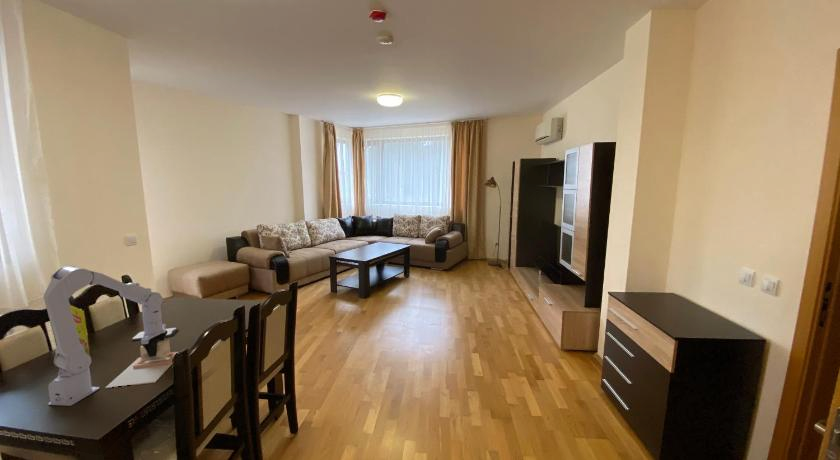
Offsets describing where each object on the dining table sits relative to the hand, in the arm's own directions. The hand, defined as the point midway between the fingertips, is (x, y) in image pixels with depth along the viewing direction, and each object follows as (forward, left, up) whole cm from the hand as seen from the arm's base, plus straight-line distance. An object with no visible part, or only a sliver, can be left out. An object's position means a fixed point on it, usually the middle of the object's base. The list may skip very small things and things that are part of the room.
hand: (156, 353), depth 133 cm
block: (0, 0, -2) cm, 2 cm away
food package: (+5, +38, -4) cm, 38 cm away
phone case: (+23, +21, -5) cm, 31 cm away
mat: (-6, -1, -4) cm, 7 cm away
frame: (0, 0, -4) cm, 4 cm away
